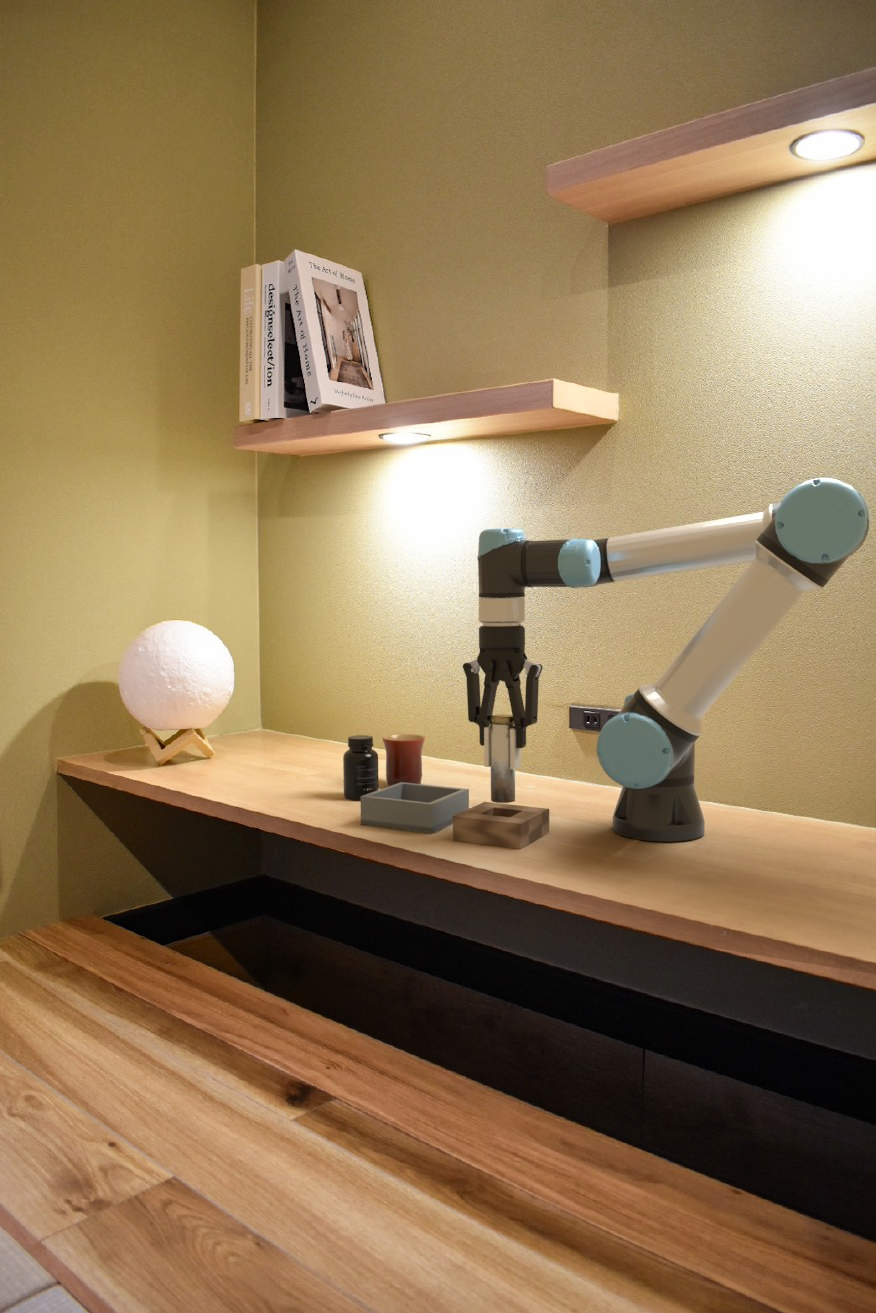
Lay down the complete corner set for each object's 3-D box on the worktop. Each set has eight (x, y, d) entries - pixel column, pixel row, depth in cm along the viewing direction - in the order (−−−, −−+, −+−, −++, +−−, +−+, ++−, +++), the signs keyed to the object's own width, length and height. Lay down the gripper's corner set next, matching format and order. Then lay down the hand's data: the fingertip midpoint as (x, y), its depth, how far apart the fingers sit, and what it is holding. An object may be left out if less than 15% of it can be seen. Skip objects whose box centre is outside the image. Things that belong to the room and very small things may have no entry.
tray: (468, 816, 182) (468, 789, 181) (431, 833, 170) (431, 804, 169) (401, 808, 188) (401, 782, 188) (360, 824, 176) (360, 796, 176)
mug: (431, 789, 206) (431, 739, 205) (390, 792, 203) (390, 741, 202) (412, 778, 217) (411, 730, 217) (372, 781, 214) (372, 733, 214)
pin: (519, 799, 168) (518, 715, 167) (509, 803, 165) (508, 718, 164) (497, 796, 170) (496, 713, 169) (486, 801, 166) (486, 716, 165)
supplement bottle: (338, 796, 200) (337, 735, 199) (370, 792, 203) (369, 733, 202) (351, 802, 194) (351, 740, 193) (384, 799, 197) (383, 737, 196)
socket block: (549, 832, 170) (549, 808, 170) (520, 848, 160) (520, 823, 159) (484, 824, 176) (484, 801, 176) (452, 840, 165) (452, 815, 165)
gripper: (559, 623, 165) (559, 766, 166) (465, 623, 173) (466, 759, 174) (541, 625, 158) (542, 774, 160) (444, 624, 166) (446, 766, 168)
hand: (502, 766), depth 167 cm, fingers closed on pin, 4 cm apart
